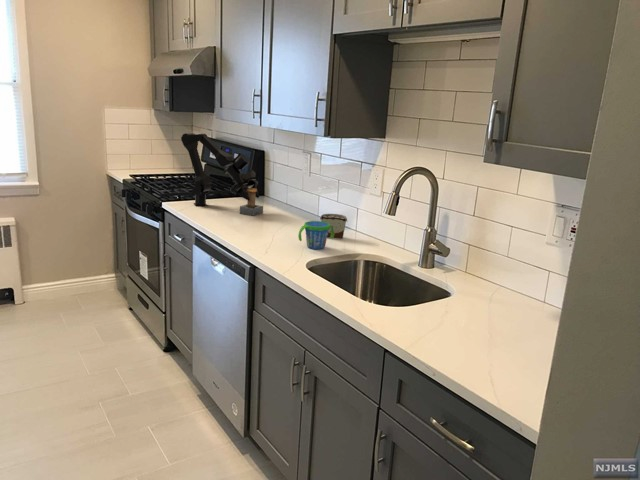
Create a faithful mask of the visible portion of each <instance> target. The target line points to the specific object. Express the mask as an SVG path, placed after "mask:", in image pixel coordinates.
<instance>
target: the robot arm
mask: <svg viewBox="0 0 640 480" xmlns="http://www.w3.org/2000/svg"><path fill="white" fill-rule="evenodd" d="M180 141H181V143H182V146H183V147H184V148H185V149H186V151H187V153H188V155H189V158H190V162H191V165H192V168H193V171H194V175H195V179H194V187H193V188H192V189H191V190H190V192H191V194H192V195H194V198H195V199H194V202H193V205H194V206H195V207H208V204H207V194H210V190H211V189H212V184H213V183H212V181H211V177H210V176H207V175H206V174H205V170H204V167H203V163H202V161H201V157H200V154H199V150H198V146H199V142H200V143H201V144H202V145H203V147H205V149H207V150H208V151H209V152H210V153H211V154H212V155H213V156H214V158H215V160H216V162H217V163H218V165H219V166H220V167H226V168H224V169H223V174H224V175H226V174H228V175H229V177H231V179H232V180H231V181H232V183H234V184H233V185H232V186H231V187H230V192H231V193H232V194H234V195H237V196H239V197H241V198H243V199H245V200H246V201H247V202H248V201H249V200H250V198H249V196H248V192H247V190H246V189H247V188H255V189H257V187H258V186H259V185H258V184H259V181H258V180H257V179H256V175H257V173H256V172H255V171H254V169H252V170H249V171H248V172H246V173H244V172H241V170H244V168H246V167H247V165H249V164H250V158H249V157H248V156H246V155H245V154H243V152H239V153H238V154H237V156H235V157H233V156H232V155H231V154H230V153H228V152H227V151H224V150H222V149H221V148H220V146H218V145H217V144H216V143H215V142H214V141H213V140H212V139H211V138H210V137H209V136H208V134H206V133H203V132H202V133H196V134H195V133H194V132H191V133H190V132H188V133H183V134H182V135H181V137H180ZM253 178H254V179H253ZM255 198H257V199H259V198H260V195H259V191H258V189H257V192H256V195H255Z"/></svg>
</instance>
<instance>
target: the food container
mask: <svg viewBox="0 0 640 480" xmlns="http://www.w3.org/2000/svg"><path fill="white" fill-rule="evenodd" d="M319 221H322V222H326V223H329V224H330V225H331V226H332V227H333V228H334V238H333V239H335V238H336V239H337V240H343V239H344V235H345V228H346V222H348V218H347V216H346V215H343V214H338V213H324V214H322V215H321V216H320V218H319ZM327 239H331V227H330V228H329V230H328V235H327Z"/></svg>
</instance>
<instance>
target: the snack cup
mask: <svg viewBox="0 0 640 480" xmlns="http://www.w3.org/2000/svg"><path fill="white" fill-rule="evenodd" d="M330 227H331V238H330V239H335V238H334V228H333V227H332V226H331V225H330V224H329V223H326V222H322V221H321V220H310V221H306V222H304V225H302V226H301V227H300V228H299V232H298V240H299V241H300V242H302V233H303V231H304V230H305V241H306V246H307V248H309V249H312V250H323V249H324V248H326V243H327V239H328V238H327V235H328V230H329V228H330Z"/></svg>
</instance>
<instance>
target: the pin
mask: <svg viewBox="0 0 640 480" xmlns="http://www.w3.org/2000/svg"><path fill="white" fill-rule="evenodd" d="M257 191H258V189H255V188H246V192H247V195H248V196H249V198H250V200H249V201H248V200H247V203H246V204H247V207H252V208H254V207H255V205H256V197H255V195H256V192H257Z"/></svg>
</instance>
